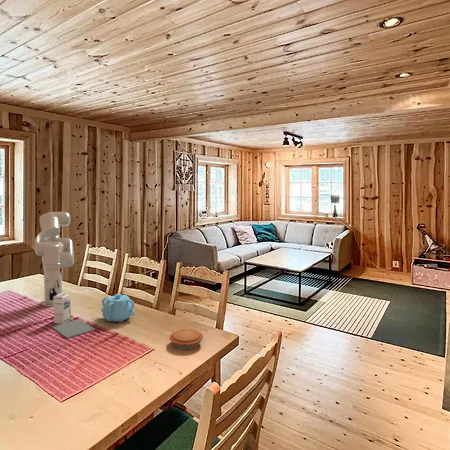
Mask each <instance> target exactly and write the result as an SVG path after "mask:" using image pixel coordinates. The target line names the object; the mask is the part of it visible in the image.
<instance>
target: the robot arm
mask: <svg viewBox="0 0 450 450" xmlns="http://www.w3.org/2000/svg"><path fill="white" fill-rule="evenodd" d="M70 224H71V215H70V213H69V212H67V211H49V212H46V213H43V214H41V215H40V216H39V225H40V226H39V227H40V229H41V231H40V232H39V233H38V234H37V235H36V237H35V239H34V252H35V254H36V256H40V257H41V262H42V263H41V264H42V268H43V269H42V270H43V285H44V287H43V288H44V290H43V292H44V295H43V296H44V300H43V301H41V306H43V307H46V308H47V307H50V308H51V307H54V298H53V297H54V296H56V295H59V294H61V293H63V284H62V283H63V281H62V280H63V277H62V276H63V274H62V273H61V271H60V270H61V268H68V267H72V266H74V264H75V251H74V242H73V240H72V239H71V238H70V237H60V235H61V234H60V233H61V227H68V226H70Z"/></svg>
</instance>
